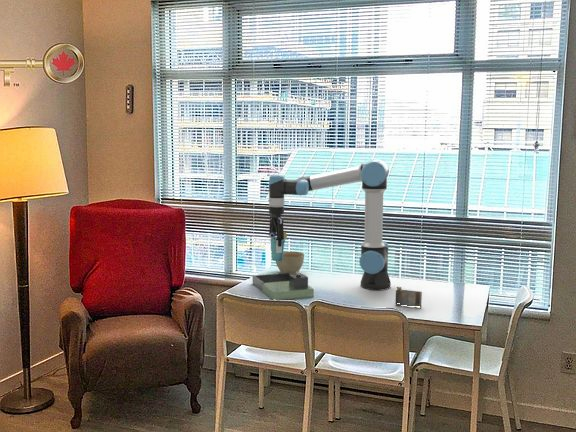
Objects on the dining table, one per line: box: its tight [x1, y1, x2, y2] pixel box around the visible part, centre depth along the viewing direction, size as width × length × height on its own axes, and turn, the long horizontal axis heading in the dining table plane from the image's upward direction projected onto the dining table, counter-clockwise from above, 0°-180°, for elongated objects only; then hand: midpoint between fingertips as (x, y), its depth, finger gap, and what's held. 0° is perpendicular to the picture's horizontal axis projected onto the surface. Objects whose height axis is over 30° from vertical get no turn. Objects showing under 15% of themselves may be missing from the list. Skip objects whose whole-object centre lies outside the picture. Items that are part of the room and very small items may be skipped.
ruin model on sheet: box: [394, 286, 423, 308], centre depth 292 cm, size 11×3×10 cm, turn 68°
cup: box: [268, 231, 288, 262], centre depth 324 cm, size 14×8×15 cm, turn 148°
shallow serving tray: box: [252, 270, 315, 300], centre depth 319 cm, size 33×20×11 cm, turn 21°
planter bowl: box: [275, 251, 305, 275], centre depth 354 cm, size 16×16×11 cm
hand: (276, 250), depth 325 cm, fingers closed on cup, 8 cm apart
